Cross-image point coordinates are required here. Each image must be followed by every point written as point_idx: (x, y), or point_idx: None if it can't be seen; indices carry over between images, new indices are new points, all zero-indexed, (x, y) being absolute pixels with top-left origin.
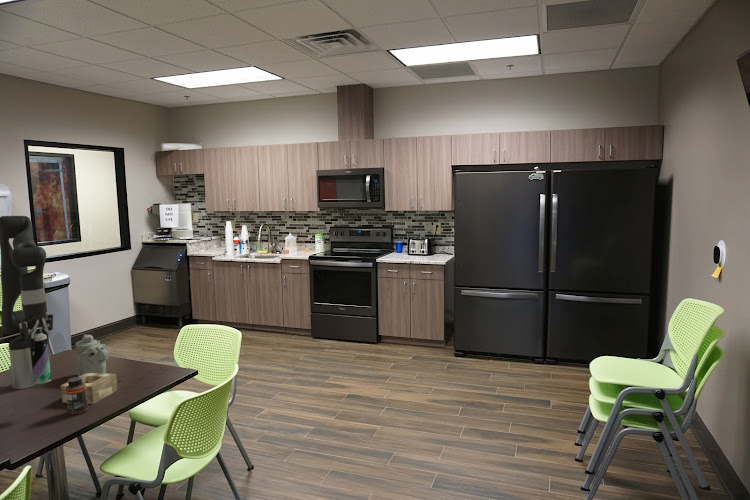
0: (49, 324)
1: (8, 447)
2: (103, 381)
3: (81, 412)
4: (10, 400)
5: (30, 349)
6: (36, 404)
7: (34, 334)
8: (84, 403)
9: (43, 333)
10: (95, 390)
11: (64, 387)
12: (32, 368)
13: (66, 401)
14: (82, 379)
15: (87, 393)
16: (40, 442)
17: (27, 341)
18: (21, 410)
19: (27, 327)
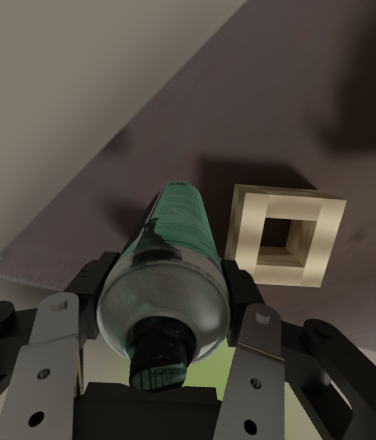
0: (328, 436)
1: (28, 228)
2: (271, 282)
3: None
4: (258, 3)
5: (130, 237)
6: (225, 121)
7: (121, 341)
8: None
9: (238, 323)
10: None
11: (242, 203)
12: (151, 201)
13: (233, 196)
14: (296, 218)
15: (230, 259)
16: (58, 270)
17: (67, 289)
18: (189, 108)
19: (10, 415)
